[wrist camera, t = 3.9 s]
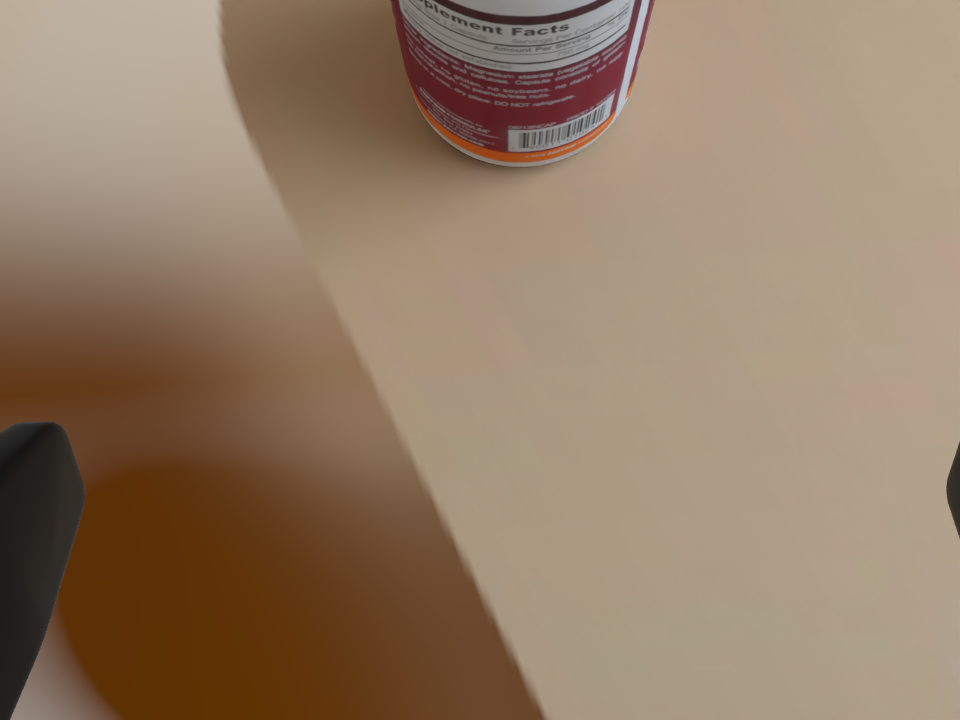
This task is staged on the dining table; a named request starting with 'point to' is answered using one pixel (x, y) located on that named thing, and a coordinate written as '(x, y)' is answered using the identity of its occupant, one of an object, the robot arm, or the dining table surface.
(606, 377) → the dining table surface
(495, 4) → the pill bottle
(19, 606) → the robot arm
